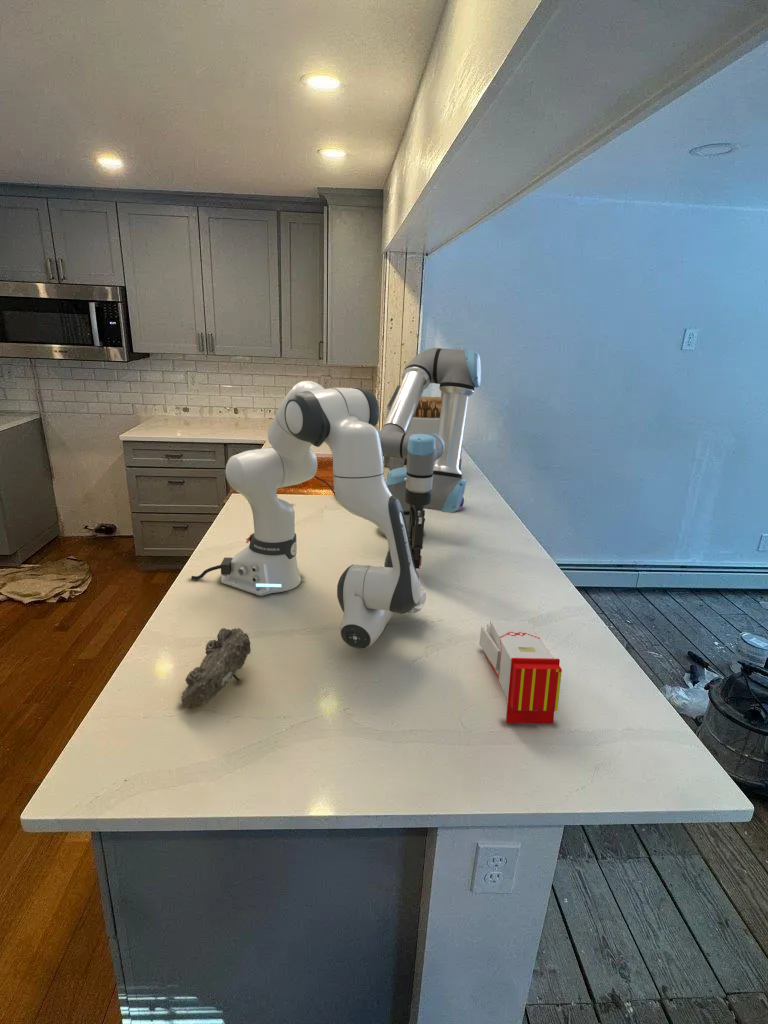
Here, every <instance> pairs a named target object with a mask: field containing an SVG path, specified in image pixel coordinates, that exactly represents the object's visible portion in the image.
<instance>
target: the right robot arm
mask: <svg viewBox="0 0 768 1024" xmlns="http://www.w3.org/2000/svg"><path fill="white" fill-rule="evenodd" d="M401 379H402V382H401V384H400V388H399V391H398V393H397V395H396V398H395V400H394V402H393V404H392V407H391V409H390V411H389V414H388V416H387V418H386V417H385V421H384V423H383V425H382V428H381V430H380V429H376V430H377V431H378V434H379V438H380V443H381V448H382V454H383V458H384V456H386V457H395V458H404V459H407V465H406V466H404V467H402V468H396V469H393V470H391V471H390V470H389V472H388V473H387V475H386V481H385V482H386V485H387V487H388V489H389V491H390V493H391V494H392V496H394V497H395V498H397V499H398V500H399V502H400V504H401V506H402V509H403V513H404V517H405V521H406V526H407V531H408V535H409V540H410V545H411V550H412V555H413V560H414V564H415V568H416V570H420V567H421V566H420V555H421V553H422V550H423V548H424V547H423V544H424V543H423V542H424V529H425V521H426V518H425V516H426V510H432V511H437V512H441V513H444V512H447V513H455V512H457V511H456V510H457V509H458V508H459V506H460V504H461V501H462V498H463V497H464V495H465V490H466V485H467V484H466V483H467V482H466V479H464V478H463V473H462V470H461V471H460V470H459V460H460V453H461V446H462V447H463V443H462V441H463V439H464V431H465V424H466V418H467V410H468V404H469V398H470V397H471V396H472V395H474V393H475V388H479V387H480V386H481V380H482V365H481V357H480V354H479V353H478V352H477V351H475V350H470V349H465V348H464V349H458V348H440V347H432V348H428V349H424V350H423V351H421V352H419V353H417V354H416V355H415V356H413V358H412V359H411V360H410V361H408V363H407V364H406V366H405V367H404V369H403V372H402V374H401ZM430 384H434V385H435V384H436V385H439V387H438V388H439V391H440V393H441V392H442V393H443V398H442V406H441V413H440V420H439V427H438V434H407V430H408V428H409V425H410V423H411V420H412V418H413V415H414V413H415V410H416V408H417V405H418V403H419V400H420V398H421V397H422V395H423V393H424V390H426V389H427V388H429V386H430ZM461 454H462V453H461ZM313 478H315V479H317V480H319V481H321V482H322V483H325V484H326V485H327V486H328V487H329V489H330V490H331V492H332V493H333V495H334V497H336V495H335V490H334V488H333V487H332V486H331V485H330V484H329V482H327V481H326V480H324V479H323V478H321V477H319V476H317V475H315V476H314V477H313ZM378 533H379V534H380V535H381V536H382V537H385V538H387V537H386V535H385V533H384V532H383V530H382V529H381V528H379V527H378Z"/></svg>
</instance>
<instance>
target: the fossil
mask: <svg viewBox="0 0 768 1024" xmlns="http://www.w3.org/2000/svg"><path fill="white" fill-rule="evenodd" d="M216 638H217V639H211V640H208V642H207V643H206V645H205V656H204V658H203V659H202V662H201V663H200V666H196V667H194V668H193V669H192V670H191V671H189V673H188V674H187V675H186V678H185V680H184V681H185V682H186V684H187V687H186V688H185V689H184V690H183V691H182V693H181V697H180V698H181V704H182V706H183V707H187V708H188V709H194V708H199V707H205V705H207V704H208V703H209V702H210V701H211V700H212V699H213V698H215V697H216V696H217V694H219V693H220V692H221V691H222V690H223V689H224V688H225V687H227V684H229V681H230V680H231V679H233V678H234V679H235V680H236V681H237V682H240V680H241V679H240V678H239V677H238V676H237V675H236V673H237V671H238V670H240V669H242V667H243V666H244V665H245V661H246V660H247V657H248V655H250V654H251V653H252V652H251V651H252V648H251V645H252V643H251V641H250V637H249V634H247V633H246V632H244V631H243V630H242V629H241V628H239V627H238V628H236V627H235V628H231V629H228V628H225V627H224V628H220V630H219V631H218V633H217V636H216Z"/></svg>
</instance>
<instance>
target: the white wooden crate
mask: <svg viewBox="0 0 768 1024" xmlns="http://www.w3.org/2000/svg"><path fill="white" fill-rule="evenodd" d="M400 386H401V384H400V385H399V384H398V385H397V386H396V388H395V390H394V392H393V394H392V395H391V398H390V400H389V402H388V404H387V405H386V413H385V414H386V415H385V419H386V418H387V416H388V414H389V411H390V409H391V407H392V404H393V402H394V400H395V398H396V395H397V393H398V391H399V388H400ZM440 393H441V394H440V396H421V398H420V400H419V403H418V405H417V408H416V410H415V413H414V415H413V418H412V420H411V423H410V425H409V428H408V430H407V434H438V427H439V420H440V413H441V406H442V398H443V393H442V392H441V391H440ZM463 442H464V440H462V444H463ZM462 453H463V445H462V446H461V453H460V460H459V470H460V471H461V472H462V461H463V460H462ZM383 463H384V467H388V468H389V472H390V471H391V470H393V469H396V468H402V467H405V466H407V459H404V458H395V457H386V456H384V457H383Z"/></svg>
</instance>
